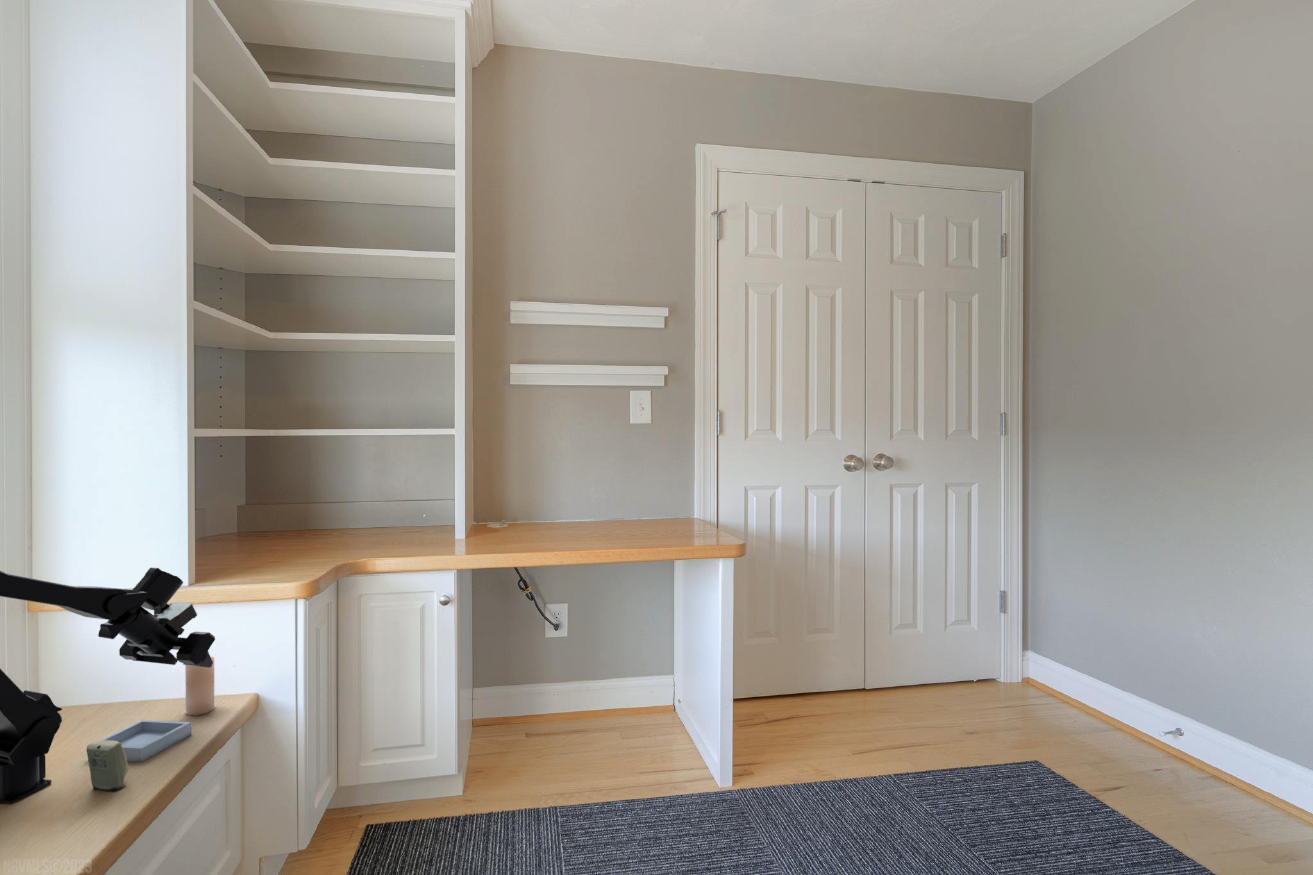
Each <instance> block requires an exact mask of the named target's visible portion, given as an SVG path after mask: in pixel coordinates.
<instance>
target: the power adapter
mask: <svg viewBox="0 0 1313 875" xmlns="http://www.w3.org/2000/svg"><path fill="white" fill-rule="evenodd" d="M86 756H87V760H88V761H87V762H88V767H89V772H90V773H89V774H90V781H91V785H92V788H93V790H94V791H102V792H117V791H119V790H121V789H123V788H125V787H126V785H125V778H126V776H127V774H128V773H129V772H128V771H129V765H128V761H127V758H126V754H125V752H124V749H123V747H122V745H121V743H120V742H118V741H111V740H104V741H99V740H97V741H93V742H90V743H89V744H88V745H87V746H86Z"/></svg>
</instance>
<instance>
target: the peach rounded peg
mask: <svg viewBox="0 0 1313 875" xmlns="http://www.w3.org/2000/svg"><path fill="white" fill-rule="evenodd" d="M210 657H211V659H212V661H213V664H212V666H211V667H210V668H207V667H199V666H191V665H184V667H185V670H184V671H185V672H184V673H185V674H184V675H185V676H184V678H185V679H184V681H185V686H184V687H185V715H187V716H190V715H193V716H200V715H204V714H206V713H210V712H212V711H214V709H215V708H216V707H215V703H216V702H215V698H216V697H215V690H216V689H215V657H214V656H211V655H210ZM209 711H210V712H209Z"/></svg>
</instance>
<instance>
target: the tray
mask: <svg viewBox="0 0 1313 875" xmlns="http://www.w3.org/2000/svg"><path fill="white" fill-rule="evenodd" d="M191 735H192V722H191V721H175V720H154V719H153V720H152V719H141V720H139V721H136V722H134V723H133V724H131V725H129V726H127V727H124V728H123V729H120V730H118V731H117V732H114V733H112V734H110V735H108V736H106V737H103V738H102V739H100V740H98V741H104V740H111V741H118V742H120V743H121V745H122V747H123V749H124V752H125V754H126V758H127V762H137V763H143V762H145V761H146V760H148V759H150V758H151V757H153V756H155V755H157V754H159V753H160V752H163V751H164V750H166V749H167V748H169V747H171V746H173V745H175V744H177V743H179V742H180V741H182V740H184V739H185V738H188V737H190V736H191Z"/></svg>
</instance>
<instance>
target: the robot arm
mask: <svg viewBox="0 0 1313 875" xmlns="http://www.w3.org/2000/svg"><path fill="white" fill-rule="evenodd" d="M183 584H184V581H183V580H182V579H181V578H180V577H179V576H177V575H174V574H172V573H169V572H167V571H164V570H161V568H159V567H149V569H147V571H146V572H145V574H144V576H143V577H142V578H140V580H139V581H138V583H137V584H136V585H135V586H134V587H133V588H132V589H125V588H116V587H107V586H95V585H94V586H91V585H89V586H85V585H84V586H83V585H76V586H75V585H67V584H62V583H57V582H51V581H46V580H41V579H37V578H32V577H25V576H20V575H15V574H11V573H10V574H9V573H7V572H5V571H1V570H0V597H1V598H7V599H14V600H21V601H26V602H31V603H37V604H44V605H51V606H54V607H55V606H56V607H59V608H62V609H64V610H66V611H68V612H70V613H73V614H76V615H79V616H82V617H85V618H90V619H91V618H92V619H100V620H107V621H106V622H104V623H101V624H99V627H100V628H99V630H98V634H97V636H98V637H99V638H103V639H110V640H114V639H116V637H117V636H118V635H120V636H121V637H122V638H124V639H125V641H124V642H123V643H122V645H121V646H120V648H119V650H118V652H119V657H121V658H123V659H125V660H128V661H129V660H131V661H134V662H142V663H143V662H144V663H152V664H163V665H170V666H175V665H176V664H177V662H179V663H180V664H181V663H182V665H184V666H185V665H191V666H199V667H207V668H210V667H211V666H212V664H213V661H212V659H211V657H212V656H211V655H210V652H209V650H210V648H211V647H212V645H213V643H214V642H215V641H216V636H215V635H213V634H212V633H211V632H208V631H194V632H191V633H189V635H188V636H187V637H182V636H181V635H182V634H184V632H185V628H183V627H184V626H185V625H187V624H188V623H189V622H190V621H191V620H193V619H195V618H196V617H197V616H198V613H197V611H196V609H195V607H194V605H193V603H192V602H187V601H176V602H170V600H171V599H172V598H173V597H174V595H175V594H176V593H177V591H178V590H179V589H180V588H181V587H182V585H183ZM168 602H170V603H168ZM147 609H148V610H151V611H153V614H152V613H151V612H150V611H148V610H147ZM179 636H181V637H179ZM172 650H177V652H176V656H175V655H174V654H173V653H172V652H171V651H172ZM210 656H211V657H210ZM61 711H63V708H62V707H58V706H57V705H55V704H54V702H53V700H52V698H51V697H50V696H49V694H48V693H42V692H37V691H32V690H27V689H26V690H24V691H22V690H21V689H20V687H19V686H18V685H17V684H16V683H15V682H14V681H13V680H12V679H11V678H10V677H9V676H8V675H7V674H6V672H4V671H3V670H2V669H1V668H0V804H13V803H16V802H18V801H19V800H22V799H23V798H26V797H28V796H29V795H31V794H33V793H35V792H37V791H39V790H40V789H43V788H45V787H47V786H49V785H51V784H52V781H53V780H52V779H46V776H47V775H46V770H47V768H46V755H47V754H48V753H49V752H50V749H51V745H52V743H53V740H54V738H55V736H56V734H57V732H58V731H59V729H60V727H61V724H62V723H63V717H62V716H61V713H59V712H61ZM15 801H16V802H15Z"/></svg>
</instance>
